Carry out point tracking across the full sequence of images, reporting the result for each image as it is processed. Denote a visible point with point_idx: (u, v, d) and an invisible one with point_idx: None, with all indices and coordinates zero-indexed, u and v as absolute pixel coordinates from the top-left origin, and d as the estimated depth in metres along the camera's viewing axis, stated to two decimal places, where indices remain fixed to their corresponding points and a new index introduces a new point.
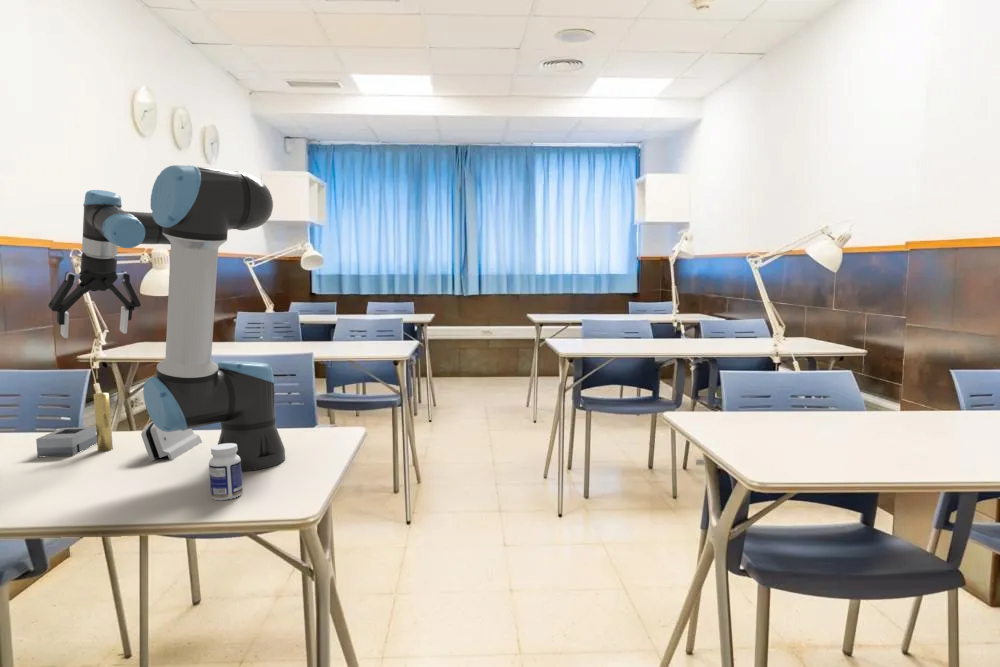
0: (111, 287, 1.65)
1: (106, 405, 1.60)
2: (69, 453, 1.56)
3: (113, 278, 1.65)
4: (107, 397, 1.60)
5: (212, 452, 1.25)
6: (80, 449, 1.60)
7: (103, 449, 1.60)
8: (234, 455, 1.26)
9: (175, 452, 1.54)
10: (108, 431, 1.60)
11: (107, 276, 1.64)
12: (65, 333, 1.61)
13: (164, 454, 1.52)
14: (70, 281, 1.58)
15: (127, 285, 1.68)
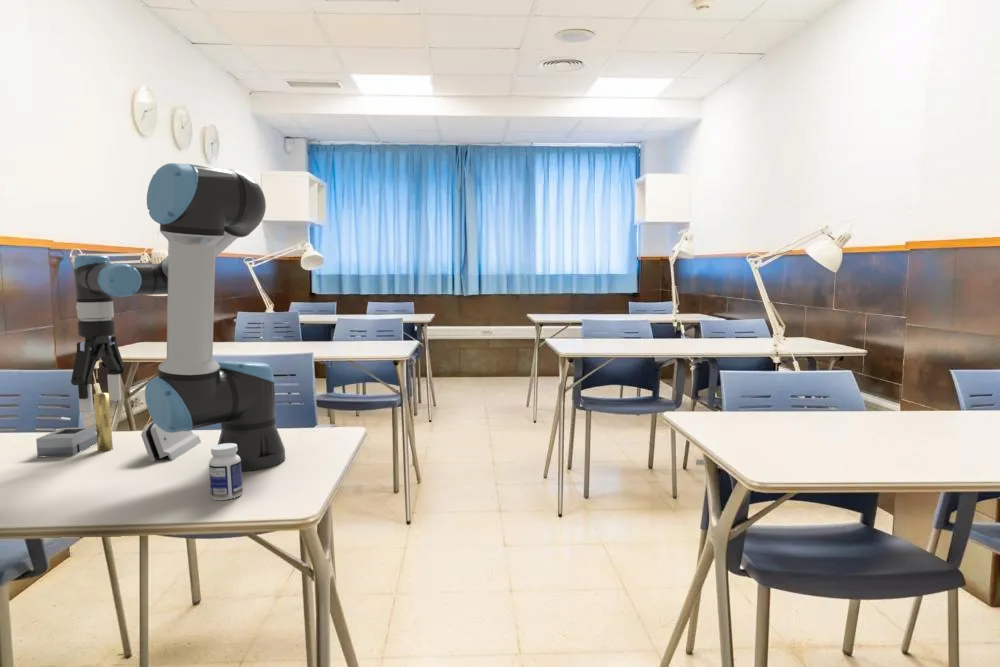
0: (110, 351, 1.62)
1: (106, 405, 1.60)
2: (69, 453, 1.56)
3: (108, 342, 1.62)
4: (107, 397, 1.60)
5: (212, 452, 1.25)
6: (80, 449, 1.60)
7: (103, 449, 1.60)
8: (234, 455, 1.26)
9: (175, 452, 1.54)
10: (108, 431, 1.60)
11: (105, 340, 1.61)
12: (91, 407, 1.54)
13: (164, 454, 1.52)
14: (88, 349, 1.53)
15: (116, 348, 1.66)
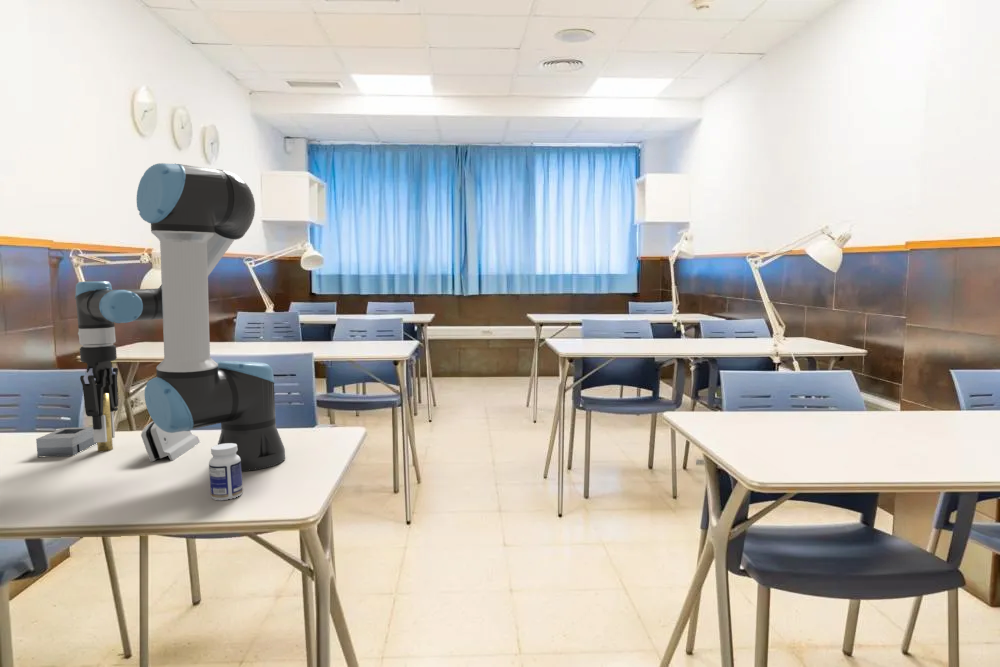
0: (110, 378, 1.61)
1: (106, 405, 1.60)
2: (69, 453, 1.56)
3: (110, 367, 1.63)
4: (107, 397, 1.60)
5: (212, 452, 1.25)
6: (80, 449, 1.60)
7: (103, 449, 1.60)
8: (234, 455, 1.26)
9: (175, 453, 1.54)
10: (108, 431, 1.60)
11: (108, 363, 1.62)
12: (105, 437, 1.59)
13: (165, 454, 1.51)
14: (93, 382, 1.54)
15: (115, 379, 1.65)
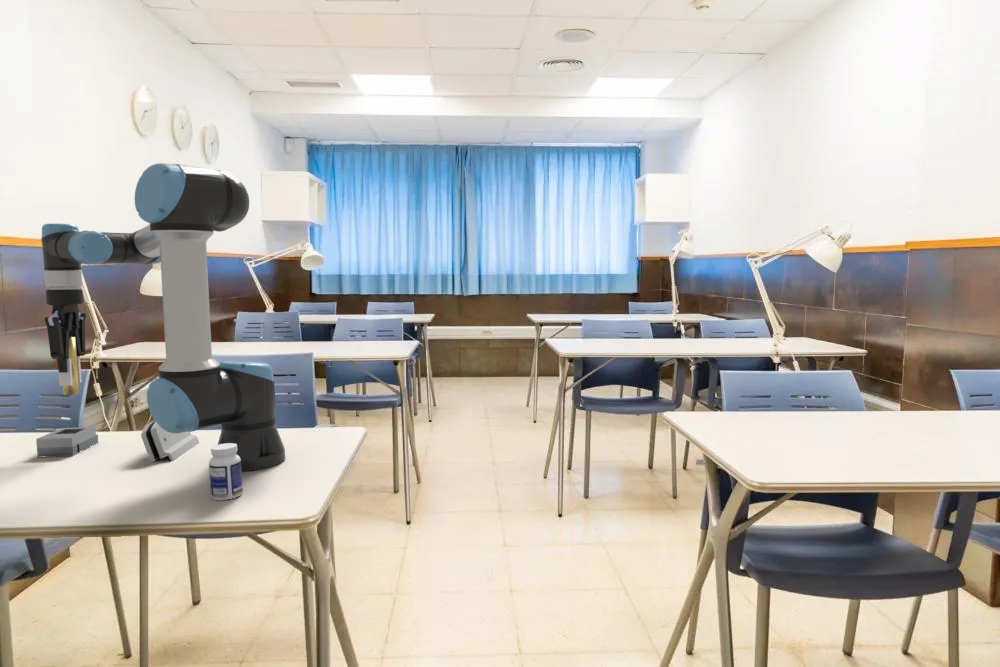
0: (77, 323, 1.61)
1: (72, 349, 1.60)
2: (69, 453, 1.56)
3: (77, 312, 1.62)
4: (73, 341, 1.60)
5: (212, 452, 1.25)
6: (80, 449, 1.60)
7: (69, 393, 1.60)
8: (234, 455, 1.26)
9: (175, 453, 1.54)
10: (74, 375, 1.60)
11: (75, 307, 1.61)
12: (70, 380, 1.59)
13: (165, 455, 1.51)
14: (58, 324, 1.54)
15: (82, 325, 1.65)
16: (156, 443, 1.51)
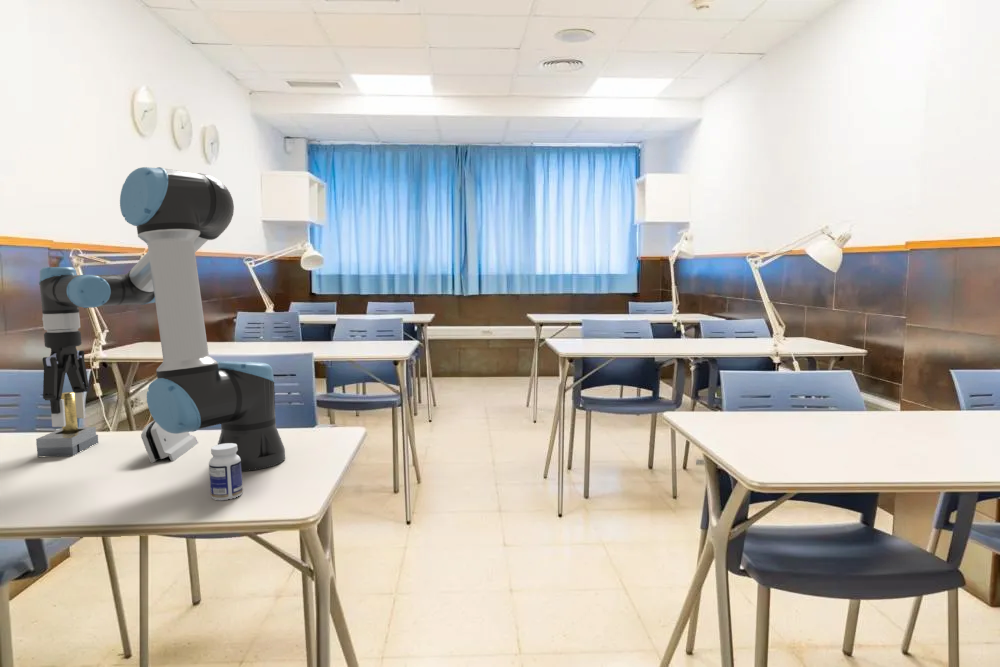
0: (76, 363, 1.63)
1: (72, 404, 1.61)
2: (69, 453, 1.56)
3: (75, 353, 1.64)
4: (73, 396, 1.61)
5: (212, 452, 1.25)
6: (80, 449, 1.60)
7: None
8: (234, 455, 1.26)
9: (175, 453, 1.54)
10: (74, 430, 1.62)
11: (72, 350, 1.62)
12: (63, 421, 1.57)
13: (165, 455, 1.51)
14: (55, 364, 1.55)
15: (82, 362, 1.67)
16: (156, 443, 1.51)
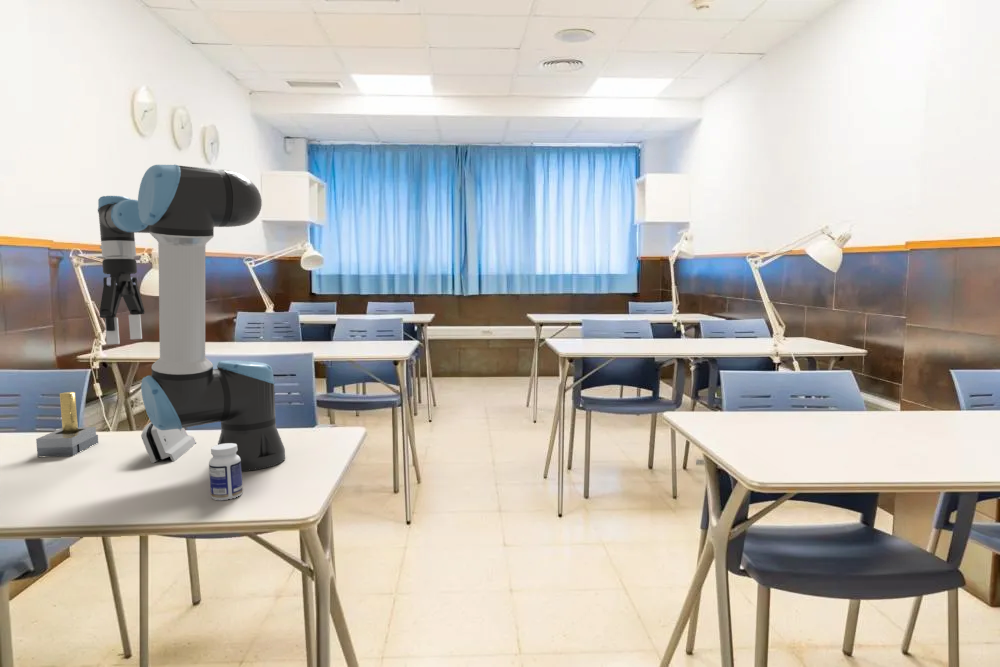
0: (132, 290, 1.70)
1: (72, 404, 1.61)
2: (69, 453, 1.56)
3: None
4: (73, 396, 1.61)
5: (212, 452, 1.25)
6: (80, 449, 1.60)
7: None
8: (234, 455, 1.26)
9: (176, 453, 1.53)
10: (74, 430, 1.62)
11: (128, 279, 1.69)
12: (118, 339, 1.62)
13: (166, 455, 1.51)
14: (114, 284, 1.61)
15: (136, 289, 1.74)
16: (157, 444, 1.50)
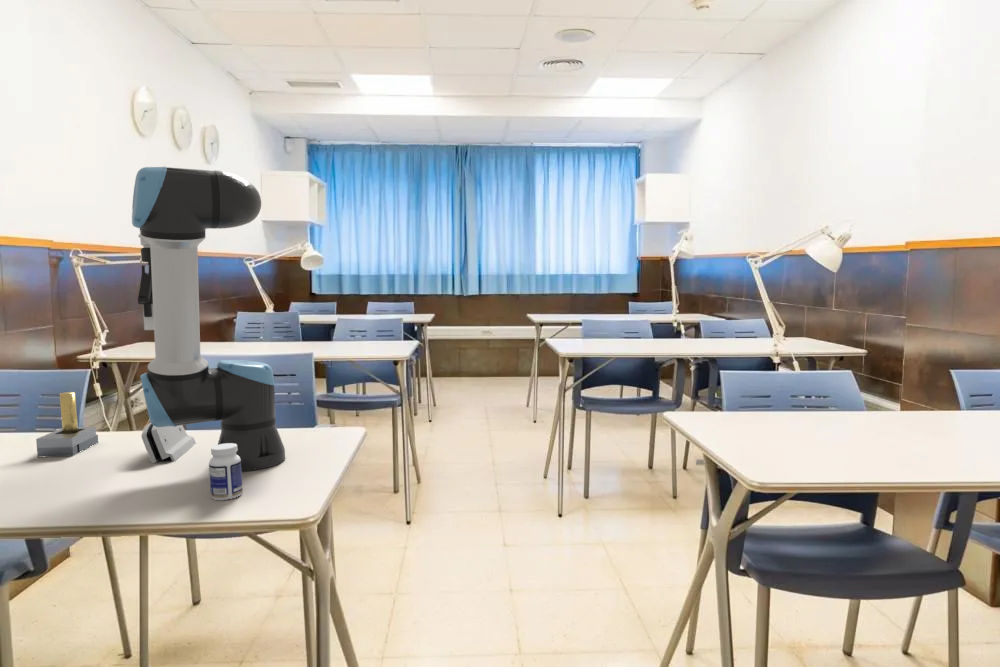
0: None
1: (72, 404, 1.61)
2: (69, 453, 1.56)
3: None
4: (73, 396, 1.61)
5: (212, 452, 1.25)
6: (80, 449, 1.60)
7: None
8: (234, 455, 1.26)
9: (176, 453, 1.53)
10: (74, 430, 1.62)
11: None
12: None
13: (166, 456, 1.51)
14: None
15: None
16: (157, 444, 1.50)
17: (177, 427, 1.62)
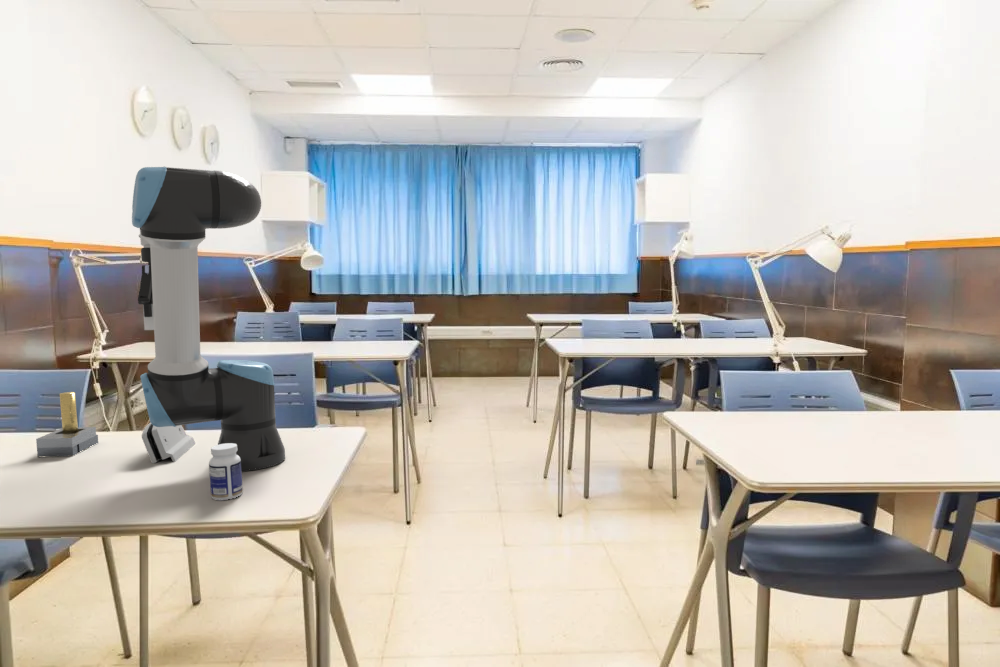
0: None
1: (72, 404, 1.61)
2: (69, 453, 1.56)
3: None
4: (73, 396, 1.61)
5: (212, 452, 1.25)
6: (80, 449, 1.60)
7: None
8: (234, 455, 1.26)
9: (176, 454, 1.53)
10: (74, 430, 1.62)
11: None
12: None
13: (167, 456, 1.51)
14: None
15: None
16: (158, 444, 1.50)
17: (177, 427, 1.62)
